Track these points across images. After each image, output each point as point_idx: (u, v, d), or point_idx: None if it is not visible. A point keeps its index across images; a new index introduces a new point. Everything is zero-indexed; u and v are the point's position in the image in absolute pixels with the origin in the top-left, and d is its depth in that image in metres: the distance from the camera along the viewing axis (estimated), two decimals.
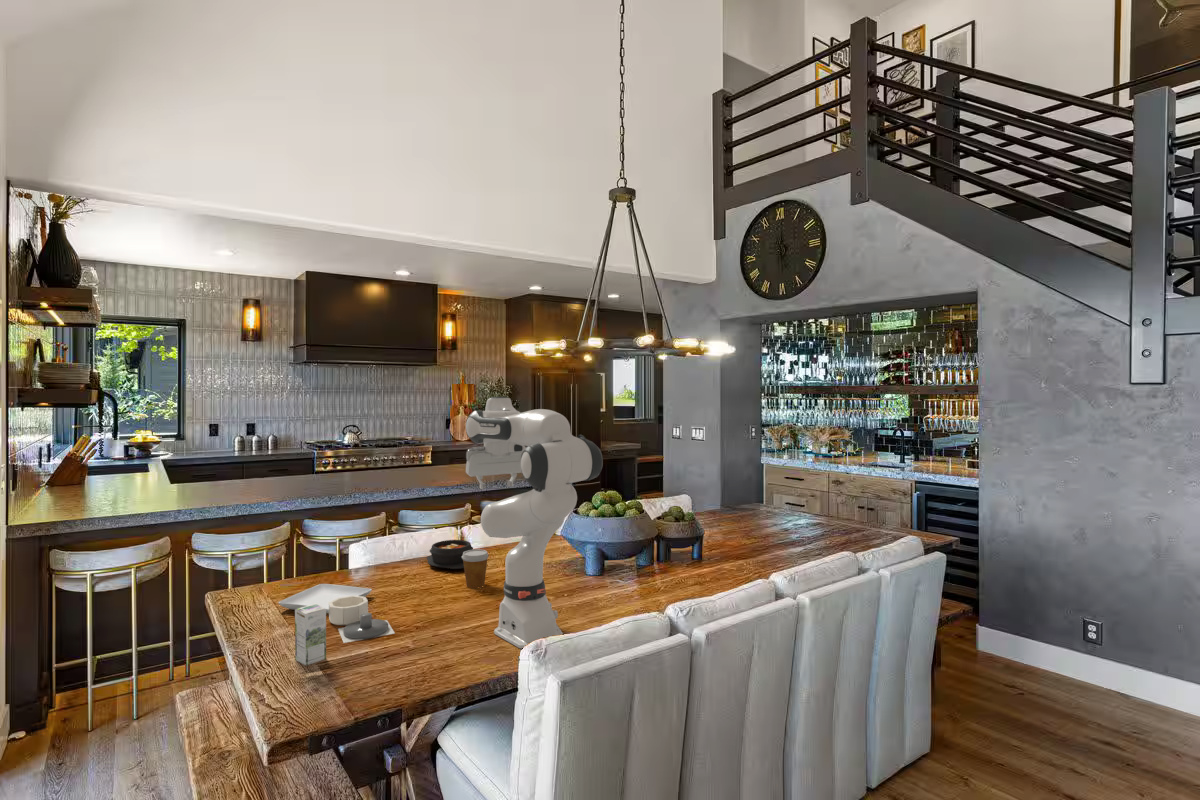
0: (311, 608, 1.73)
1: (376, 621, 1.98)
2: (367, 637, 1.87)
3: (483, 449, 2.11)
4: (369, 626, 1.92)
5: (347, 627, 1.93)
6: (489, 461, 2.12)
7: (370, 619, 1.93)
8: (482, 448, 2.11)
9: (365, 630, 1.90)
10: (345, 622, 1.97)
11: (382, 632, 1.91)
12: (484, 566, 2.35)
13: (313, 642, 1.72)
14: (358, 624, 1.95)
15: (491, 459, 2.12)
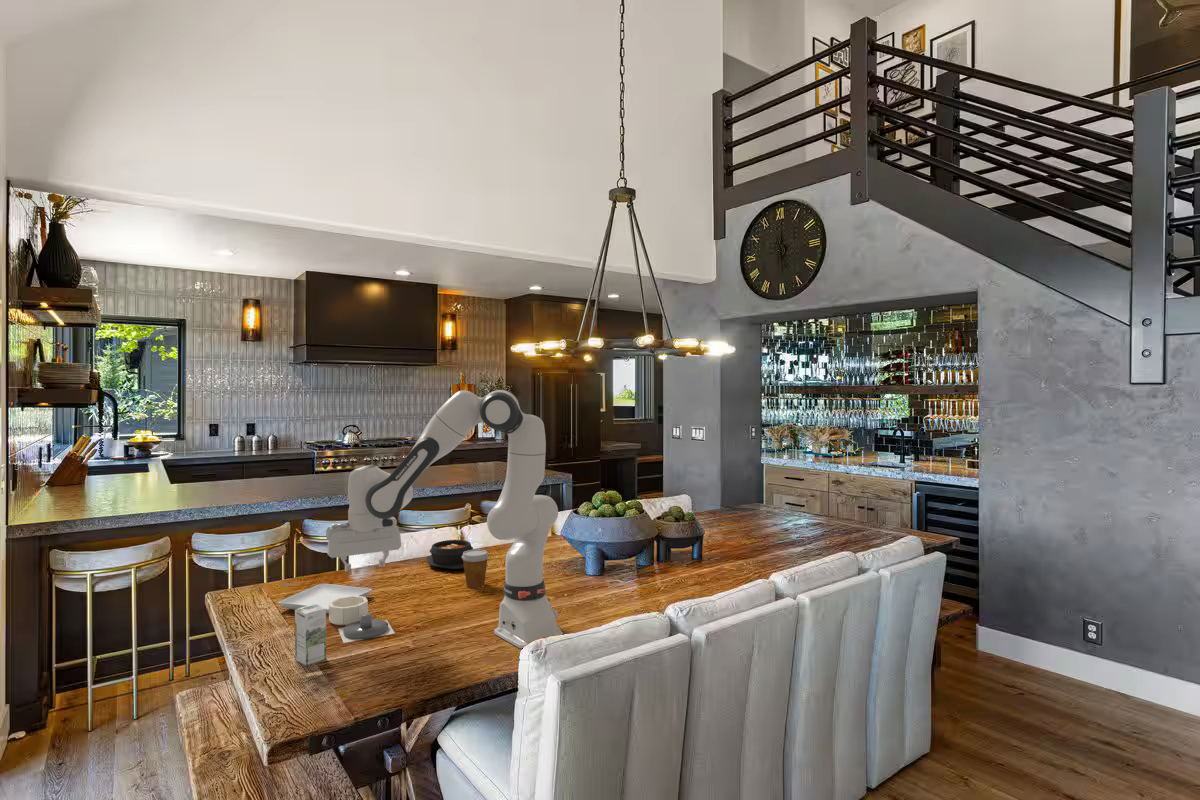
0: (311, 608, 1.73)
1: (376, 621, 1.98)
2: (367, 637, 1.87)
3: (346, 526, 1.89)
4: (369, 626, 1.92)
5: (347, 627, 1.93)
6: (354, 539, 1.89)
7: (370, 619, 1.92)
8: (345, 524, 1.89)
9: (365, 630, 1.90)
10: (345, 622, 1.97)
11: (382, 632, 1.91)
12: (484, 566, 2.35)
13: (313, 642, 1.72)
14: (358, 624, 1.95)
15: (356, 537, 1.90)
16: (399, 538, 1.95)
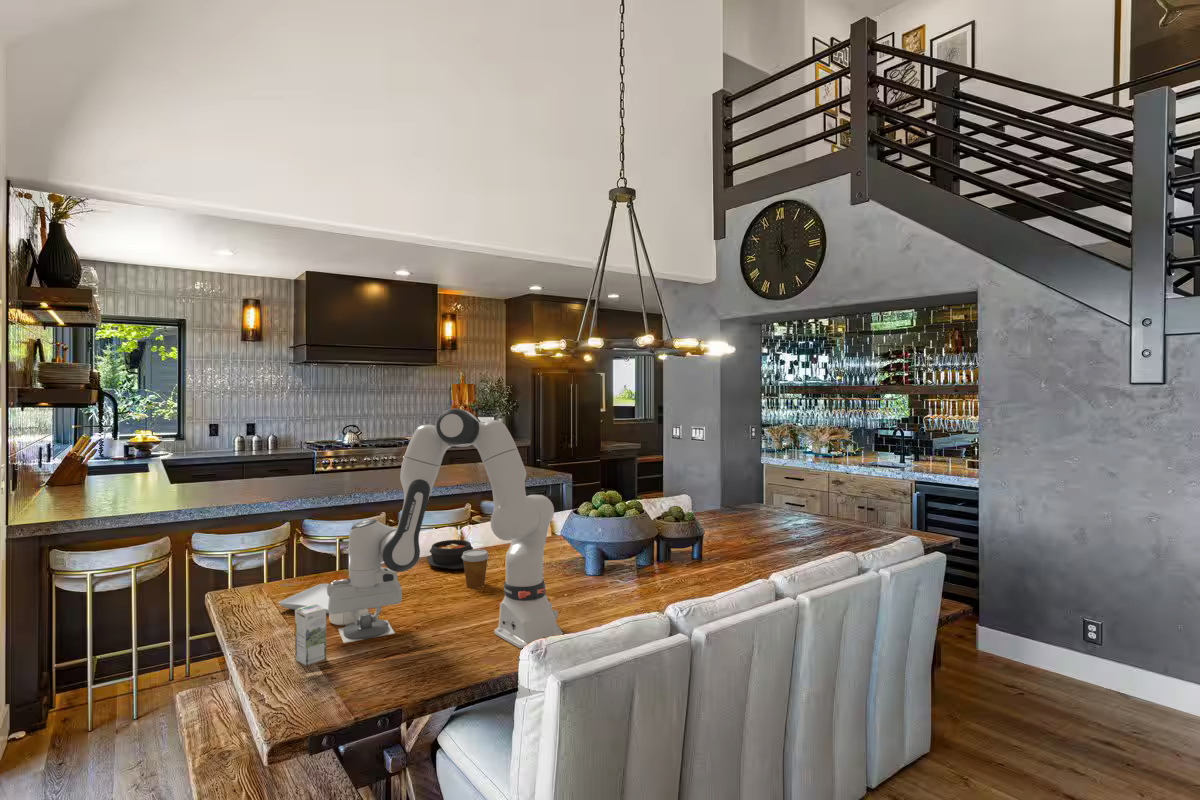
0: (311, 608, 1.73)
1: None
2: (367, 637, 1.87)
3: (347, 582, 1.90)
4: (369, 626, 1.92)
5: (347, 627, 1.93)
6: (354, 594, 1.90)
7: (370, 619, 1.93)
8: (346, 580, 1.90)
9: (365, 630, 1.90)
10: (345, 622, 1.97)
11: (382, 632, 1.91)
12: (484, 566, 2.35)
13: (313, 642, 1.72)
14: None
15: (357, 592, 1.90)
16: (400, 592, 1.95)
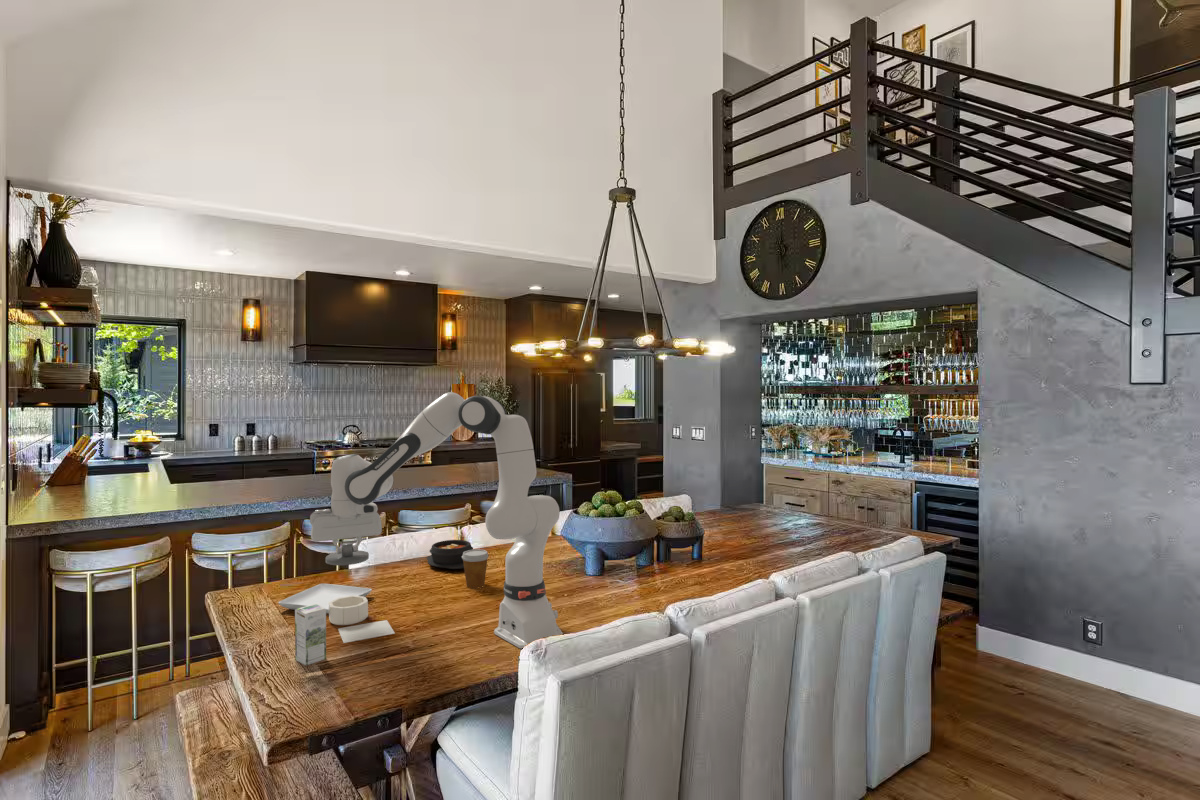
0: (311, 608, 1.73)
1: (358, 551, 2.07)
2: (348, 563, 1.97)
3: (329, 512, 1.99)
4: (350, 555, 2.01)
5: (329, 555, 2.02)
6: (336, 524, 1.99)
7: (351, 548, 2.02)
8: (328, 510, 1.99)
9: (346, 558, 2.00)
10: (345, 622, 1.97)
11: (362, 560, 2.00)
12: (484, 566, 2.35)
13: (313, 642, 1.72)
14: None
15: (338, 522, 1.99)
16: (380, 524, 2.05)
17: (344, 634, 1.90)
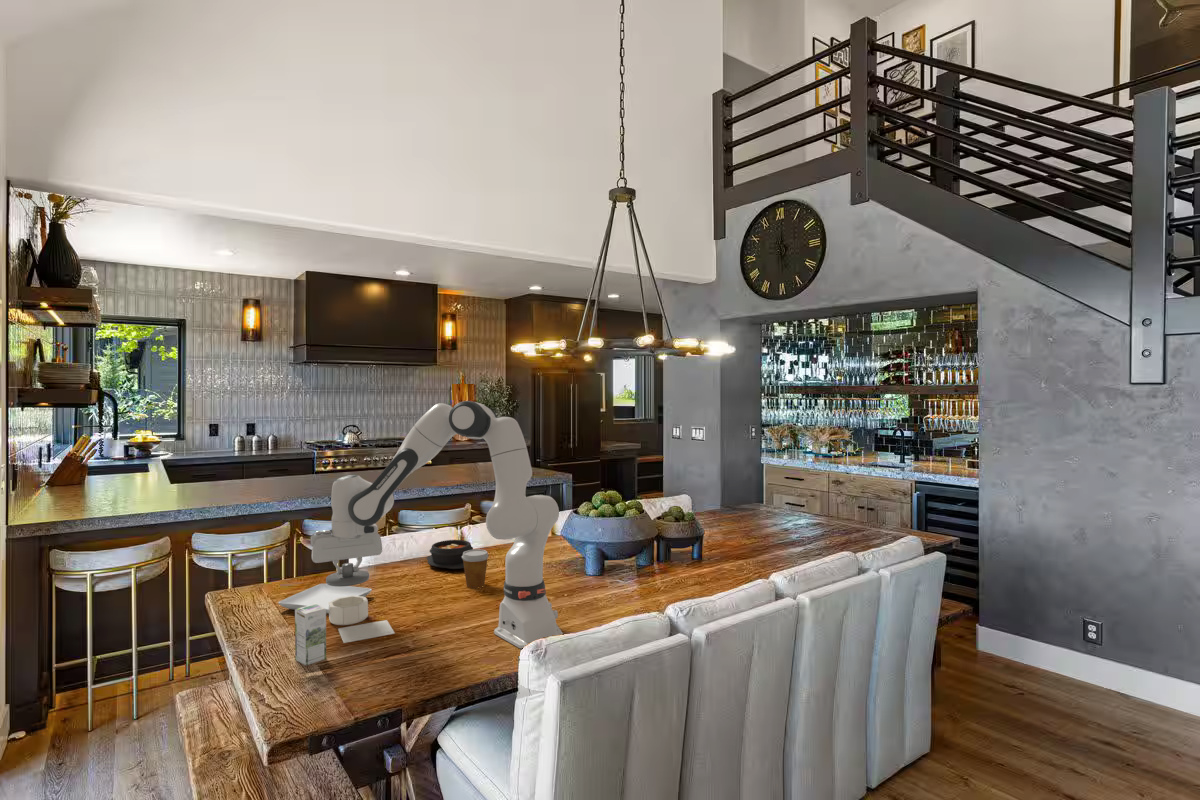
0: (311, 608, 1.73)
1: (358, 571, 2.07)
2: (348, 584, 1.97)
3: (330, 532, 1.99)
4: (350, 575, 2.02)
5: (330, 576, 2.02)
6: (336, 545, 1.99)
7: (352, 569, 2.02)
8: (328, 531, 1.99)
9: (346, 578, 2.00)
10: (345, 622, 1.97)
11: (363, 580, 2.00)
12: (484, 566, 2.35)
13: (313, 642, 1.72)
14: (340, 574, 2.05)
15: (339, 543, 2.00)
16: (380, 544, 2.05)
17: (344, 634, 1.90)
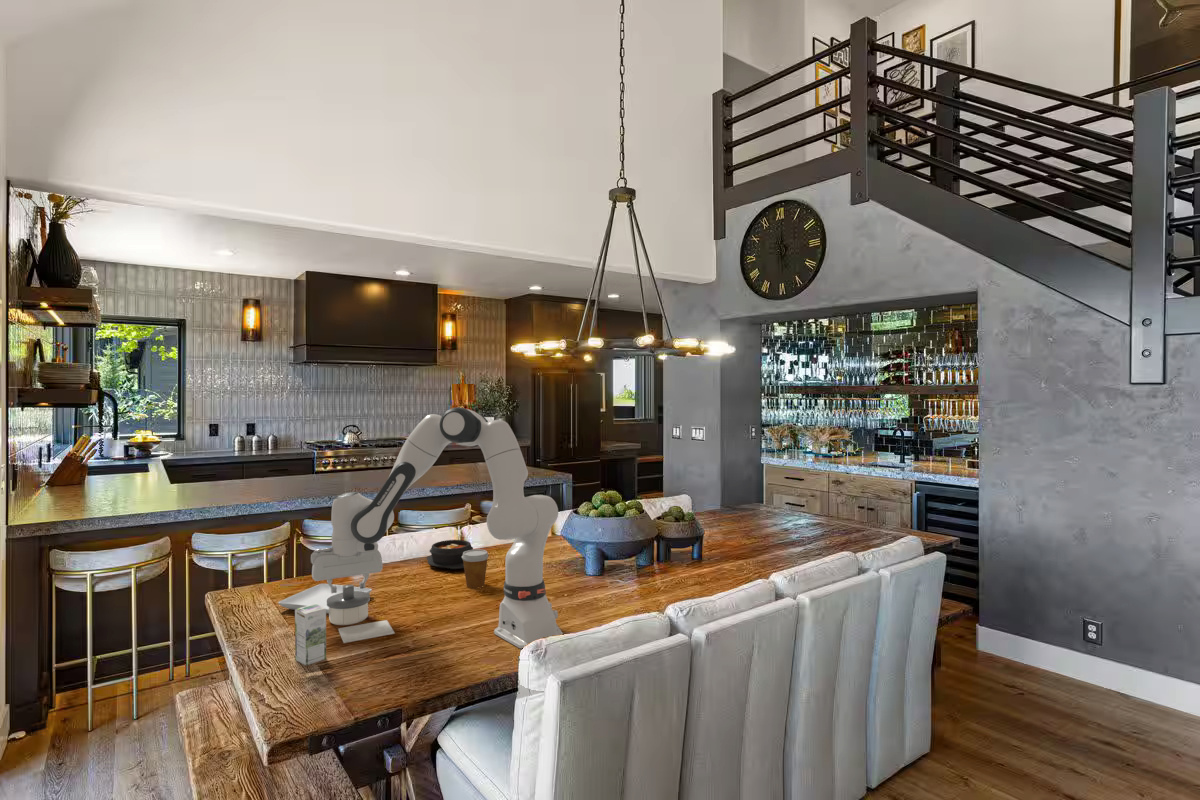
0: (311, 608, 1.73)
1: (359, 593, 2.07)
2: (349, 607, 1.97)
3: (330, 550, 1.99)
4: (351, 597, 2.02)
5: (330, 598, 2.02)
6: (337, 562, 1.99)
7: (352, 591, 2.02)
8: (328, 549, 1.99)
9: (347, 600, 2.00)
10: (345, 622, 1.97)
11: (363, 602, 2.00)
12: (484, 566, 2.35)
13: (313, 642, 1.72)
14: (341, 595, 2.05)
15: (339, 561, 2.00)
16: (380, 561, 2.05)
17: (344, 634, 1.90)
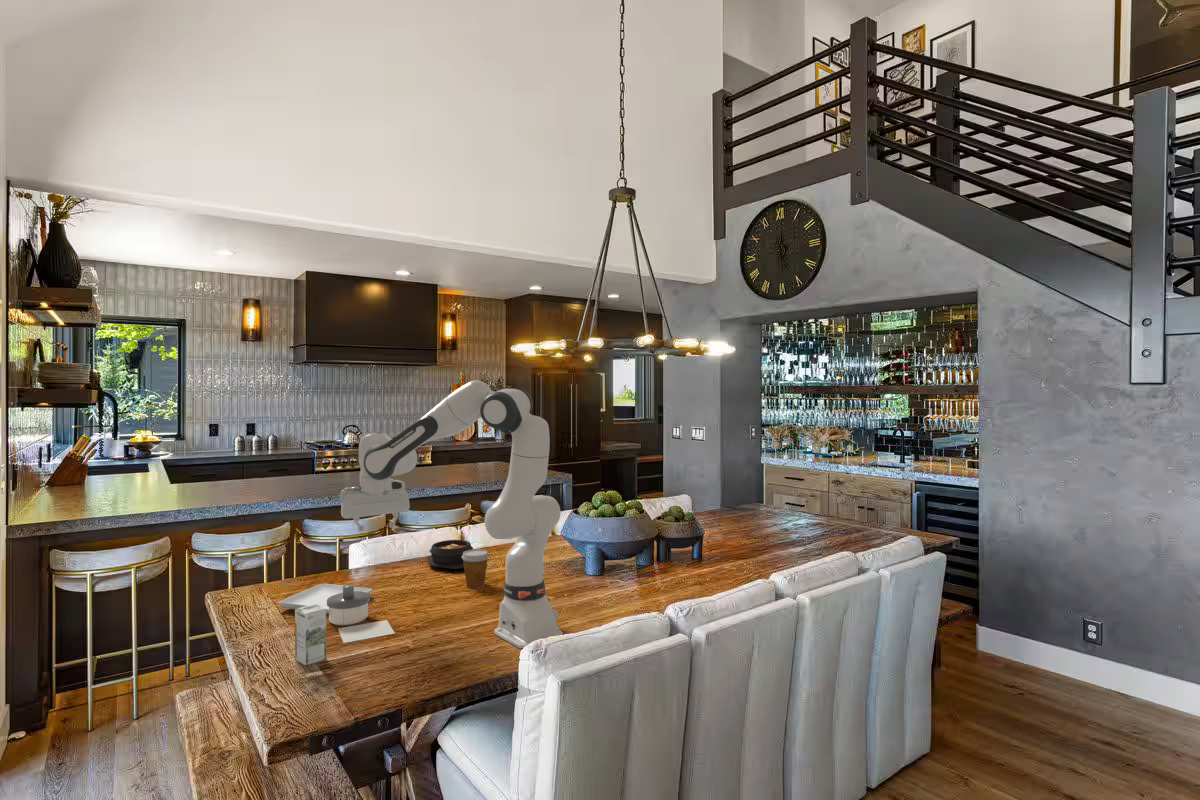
0: (311, 608, 1.73)
1: (359, 593, 2.07)
2: (349, 607, 1.97)
3: (358, 489, 2.02)
4: (351, 597, 2.02)
5: (330, 598, 2.02)
6: (365, 501, 2.02)
7: (352, 591, 2.02)
8: (357, 488, 2.02)
9: (347, 600, 2.00)
10: (345, 622, 1.97)
11: (363, 602, 2.00)
12: (484, 566, 2.35)
13: (313, 642, 1.72)
14: (341, 595, 2.05)
15: (367, 499, 2.02)
16: (408, 500, 2.08)
17: (344, 634, 1.90)
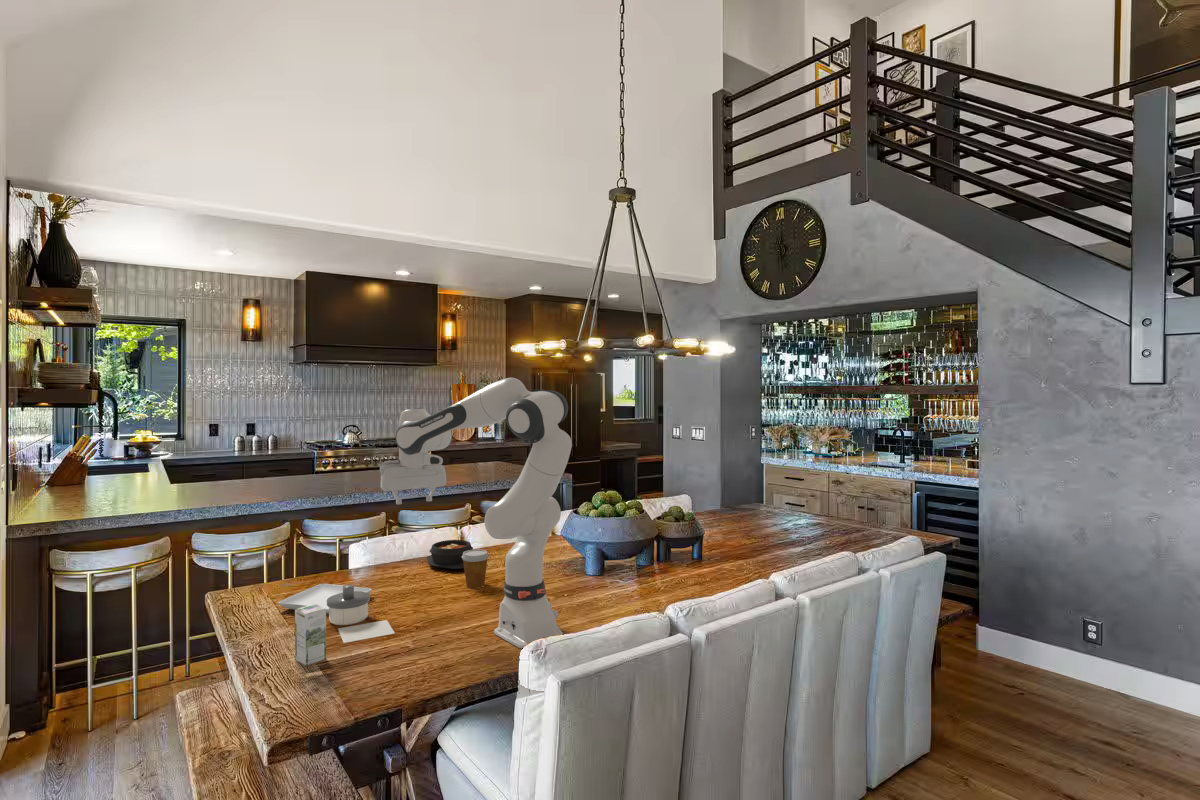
0: (311, 608, 1.73)
1: (359, 593, 2.07)
2: (349, 607, 1.97)
3: (398, 462, 2.06)
4: (351, 597, 2.02)
5: (330, 598, 2.02)
6: (404, 474, 2.06)
7: (352, 591, 2.02)
8: (396, 461, 2.06)
9: (347, 600, 2.00)
10: (345, 622, 1.97)
11: (363, 602, 2.00)
12: (484, 566, 2.35)
13: (313, 642, 1.72)
14: (341, 595, 2.05)
15: (406, 472, 2.07)
16: (445, 475, 2.12)
17: (344, 634, 1.90)
